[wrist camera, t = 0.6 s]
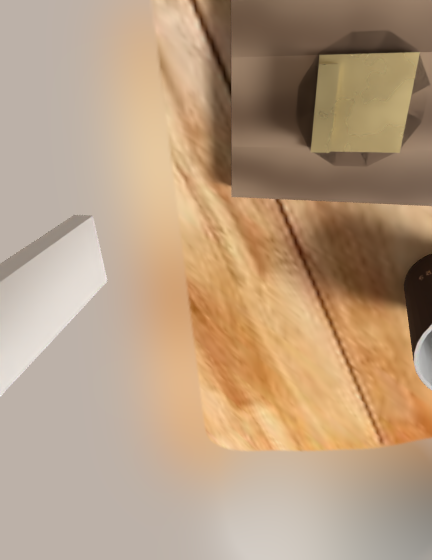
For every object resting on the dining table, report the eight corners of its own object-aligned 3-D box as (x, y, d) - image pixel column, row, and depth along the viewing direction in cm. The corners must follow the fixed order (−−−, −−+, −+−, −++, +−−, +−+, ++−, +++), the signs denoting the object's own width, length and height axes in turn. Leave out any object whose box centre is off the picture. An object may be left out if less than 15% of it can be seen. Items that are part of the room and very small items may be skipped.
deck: (238, -276, 22) (230, -312, 19) (624, -353, 18) (665, -409, 16) (236, 188, 34) (231, 196, 32) (462, 197, 31) (473, 207, 29)
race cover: (319, 55, 26) (319, 54, 23) (417, 52, 25) (432, 51, 21) (310, 148, 29) (309, 160, 26) (397, 150, 28) (408, 162, 24)
